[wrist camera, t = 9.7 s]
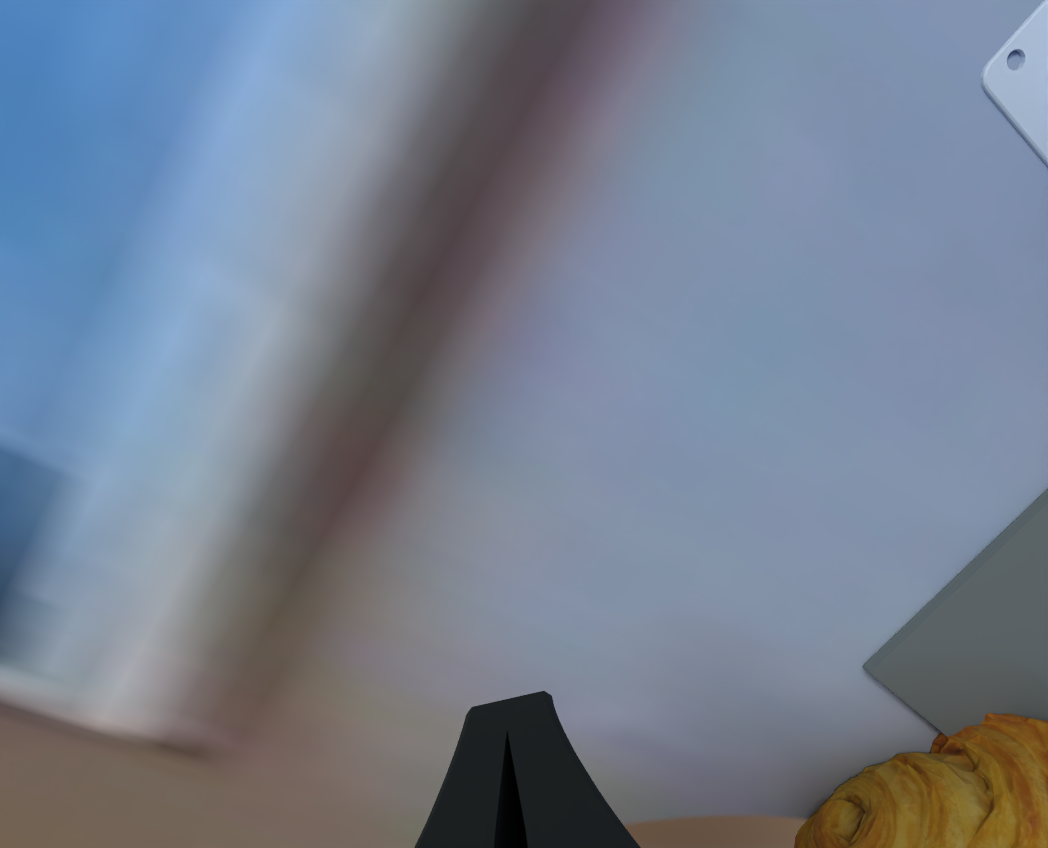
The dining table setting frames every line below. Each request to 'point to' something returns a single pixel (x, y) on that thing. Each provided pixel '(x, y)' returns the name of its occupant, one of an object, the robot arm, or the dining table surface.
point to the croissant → (946, 794)
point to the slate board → (979, 636)
